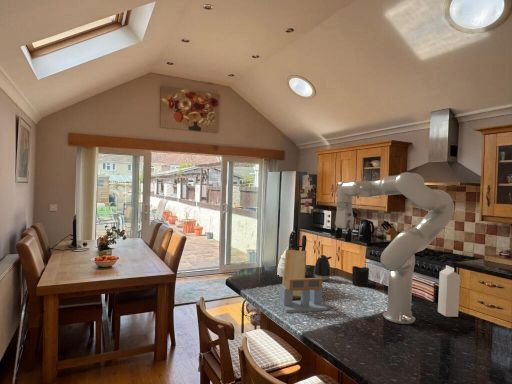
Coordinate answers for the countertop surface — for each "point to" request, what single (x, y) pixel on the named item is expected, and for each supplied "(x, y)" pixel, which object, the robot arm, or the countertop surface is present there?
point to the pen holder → (360, 276)
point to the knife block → (295, 262)
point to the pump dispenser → (322, 268)
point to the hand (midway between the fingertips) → (343, 240)
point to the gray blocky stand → (301, 301)
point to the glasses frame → (303, 284)
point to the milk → (448, 292)
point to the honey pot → (281, 264)
